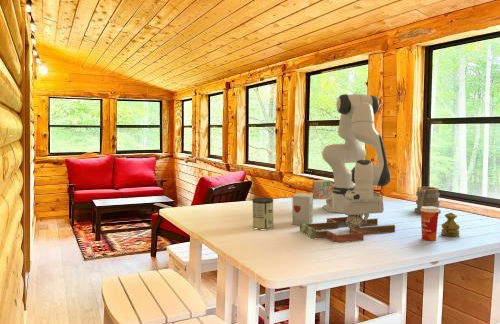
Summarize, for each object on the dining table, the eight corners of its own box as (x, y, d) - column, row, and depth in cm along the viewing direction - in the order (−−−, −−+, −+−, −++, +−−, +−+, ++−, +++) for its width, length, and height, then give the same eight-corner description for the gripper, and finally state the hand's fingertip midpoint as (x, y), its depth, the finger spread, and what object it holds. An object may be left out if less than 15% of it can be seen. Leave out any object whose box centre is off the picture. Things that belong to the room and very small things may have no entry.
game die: (356, 238, 200) (363, 226, 193) (339, 231, 202) (345, 218, 194) (361, 225, 206) (367, 212, 198) (344, 217, 208) (350, 205, 200)
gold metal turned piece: (458, 237, 186) (459, 215, 185) (440, 235, 190) (440, 213, 189) (460, 234, 193) (460, 212, 192) (442, 232, 196) (443, 210, 196)
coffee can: (256, 224, 214) (256, 197, 213) (275, 226, 211) (275, 198, 210) (249, 229, 205) (249, 200, 204) (270, 230, 201) (269, 201, 200)
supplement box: (291, 224, 213) (291, 195, 212) (296, 220, 222) (296, 192, 221) (309, 226, 210) (309, 196, 209) (313, 222, 219) (313, 193, 217)
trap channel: (293, 227, 209) (293, 219, 208) (367, 220, 220) (367, 213, 220) (321, 244, 178) (321, 234, 178) (406, 235, 190) (406, 227, 190)
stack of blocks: (343, 197, 293) (343, 179, 292) (345, 198, 287) (345, 180, 286) (312, 197, 292) (312, 180, 291) (314, 199, 286) (314, 181, 285)
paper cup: (416, 237, 188) (417, 206, 187) (432, 236, 189) (433, 205, 187) (424, 241, 180) (425, 209, 179) (442, 241, 181) (443, 209, 180)
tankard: (421, 209, 250) (421, 183, 249) (443, 212, 241) (443, 185, 240) (405, 214, 236) (406, 187, 235) (428, 217, 227) (429, 189, 226)
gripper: (378, 192, 206) (378, 220, 207) (341, 194, 200) (341, 223, 201) (386, 194, 200) (386, 222, 201) (348, 196, 194) (348, 226, 195)
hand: (363, 223), depth 201 cm, fingers closed
